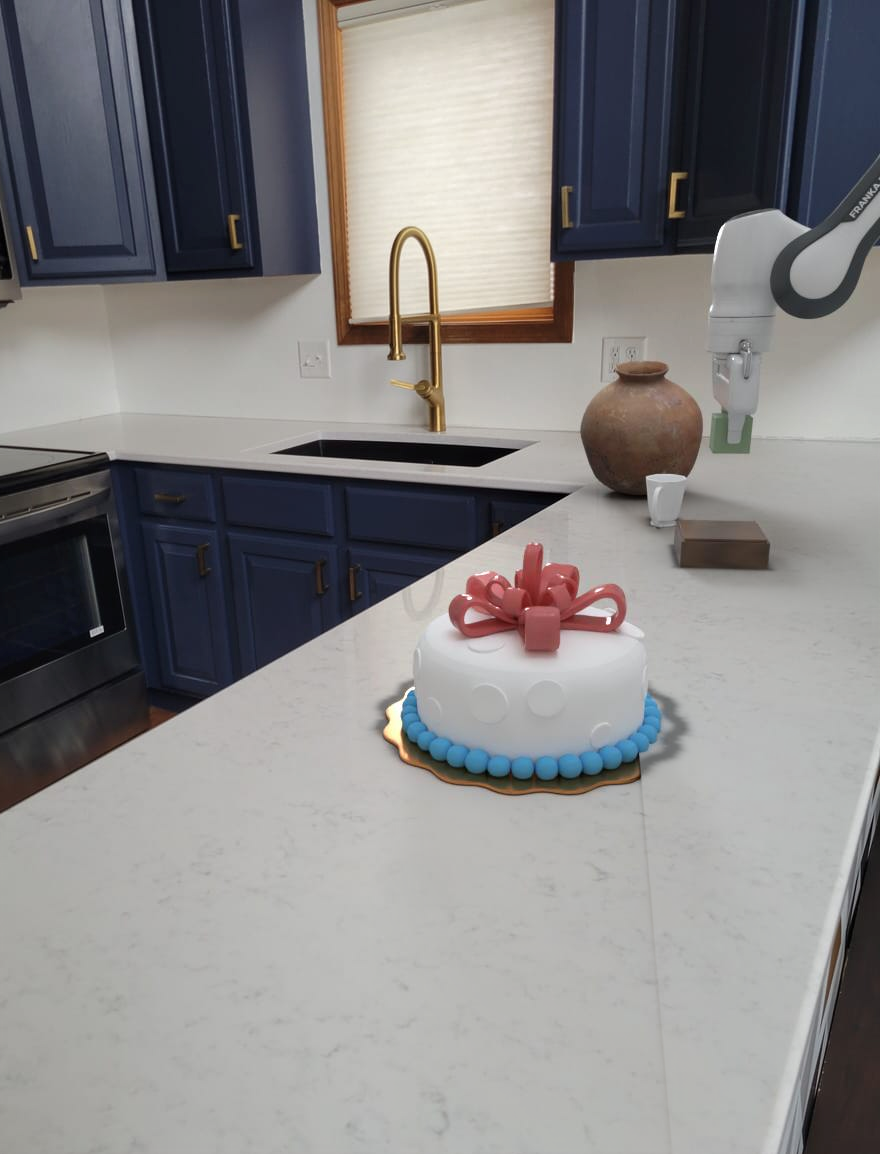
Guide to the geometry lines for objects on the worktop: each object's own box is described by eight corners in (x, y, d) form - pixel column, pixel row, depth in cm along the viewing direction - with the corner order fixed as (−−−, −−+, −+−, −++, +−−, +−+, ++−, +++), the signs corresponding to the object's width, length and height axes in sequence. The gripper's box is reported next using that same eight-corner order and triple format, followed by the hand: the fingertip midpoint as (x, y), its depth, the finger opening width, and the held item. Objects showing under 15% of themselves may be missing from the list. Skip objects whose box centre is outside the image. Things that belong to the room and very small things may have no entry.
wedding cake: (581, 653, 109) (587, 497, 103) (743, 757, 85) (764, 561, 78) (347, 693, 101) (338, 526, 94) (452, 822, 76) (450, 608, 70)
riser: (754, 552, 147) (757, 520, 145) (766, 574, 136) (770, 540, 134) (673, 550, 149) (675, 519, 147) (679, 572, 138) (681, 538, 136)
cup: (688, 521, 166) (692, 475, 163) (673, 534, 158) (676, 486, 155) (648, 517, 169) (651, 472, 167) (631, 530, 161) (634, 483, 159)
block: (744, 448, 139) (748, 413, 138) (749, 453, 135) (753, 417, 133) (709, 447, 140) (712, 413, 139) (712, 453, 136) (715, 417, 134)
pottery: (654, 477, 203) (662, 355, 194) (722, 498, 182) (734, 362, 173) (558, 487, 196) (561, 361, 187) (616, 510, 175) (623, 369, 167)
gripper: (776, 342, 122) (764, 451, 127) (752, 334, 141) (743, 429, 146) (724, 343, 123) (715, 451, 128) (708, 334, 142) (700, 429, 147)
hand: (730, 439), depth 137 cm, fingers closed on block, 5 cm apart
